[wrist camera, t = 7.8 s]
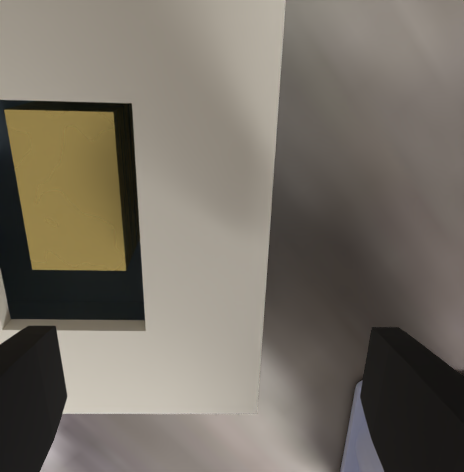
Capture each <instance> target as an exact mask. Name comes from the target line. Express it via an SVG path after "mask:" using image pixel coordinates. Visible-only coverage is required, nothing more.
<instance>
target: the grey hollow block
mask: <svg viewBox="0 0 464 472" xmlns="http://www.w3.org/2000/svg"><path fill="white" fill-rule="evenodd" d="M285 3H286V0H0V344H1V343H3V342H4V341H6V340H7V339H9V338H10V337H12V336H13V335H15V334H16V333H18V332H19V331H21V330H22V329H24V328H26V327H27V326H56V330H57V336H58V342H59V348H60V354H61V360H62V366H63V372H64V378H65V384H66V390H67V396H68V397H67V400H66V403H65V407H64V410H63V413H62V414H257V410H258V395H259V381H260V366H261V352H262V337H263V323H264V308H265V294H266V279H267V265H268V250H269V236H270V221H271V207H272V192H273V178H274V163H275V148H276V134H277V119H278V105H279V90H280V76H281V61H282V47H283V32H284V18H285ZM33 101H66V102H104V103H132V112H133V129H134V145H135V162H136V178H137V195H138V211H139V228H140V239H139V242H138V244H137V246H136V249H135V251H134V253H133V256H132V258H131V260H130V263H129V265H128V268H127V270H126V271H99V270H32V265H31V259H30V253H29V248H28V242H27V236H26V231H25V225H24V219H23V214H22V208H21V202H20V197H19V191H18V186H17V180H16V174H15V169H14V163H13V157H12V152H11V146H10V140H9V135H8V129H7V123H6V118H5V112H4V109H8V108H11V107H15V106H18V105H22V104H26V103H29V102H33Z"/></svg>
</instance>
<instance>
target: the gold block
mask: <svg viewBox="0 0 464 472" xmlns="http://www.w3.org/2000/svg"><path fill="white" fill-rule="evenodd" d="M4 112H5V118H6V123H7V129H8V135H9V140H10V146H11V152H12V157H13V163H14V169H15V174H16V180H17V186H18V191H19V197H20V202H21V208H22V214H23V219H24V225H25V231H26V236H27V242H28V248H29V253H30V259H31V265H32V270H99V271H126V270H127V268H128V265H129V263H130V260H131V258H132V256H133V253H134V251H135V249H136V246H137V244H138V242H139V239H140V228H139V211H138V195H137V178H136V162H135V145H134V129H133V112H132V103H104V102H66V101H33V102H29V103H26V104H22V105H18V106H15V107H11V108H8V109H4Z"/></svg>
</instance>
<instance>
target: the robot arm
mask: <svg viewBox="0 0 464 472" xmlns="http://www.w3.org/2000/svg"><path fill="white" fill-rule="evenodd" d="M67 397H68V396H67V390H66V384H65V378H64V372H63V366H62V360H61V354H60V348H59V342H58V336H57V330H56V326H27V327H26V328H24V329H22V330H21V331H19V332H18V333H16V334H15V335H13V336H12V337H10V338H9V339H7V340H6V341H4V342H3V343H1V344H0V472H40V470H41V467H42V465H43V463H44V461H45V459H46V456H47V454H48V452H49V450H50V447H51V445H52V443H53V441H54V438H55V435H56V432H57V429H58V426H59V423H60V420H61V417H62V413H63V410H64V407H65V403H66V400H67ZM340 472H464V376H462V375H461V374H460V373H458V372H457V371H456V370H454V369H453V368H452V367H450V366H449V365H448V364H447V363H445V362H444V361H443V360H441V359H440V358H439V357H437V356H436V355H435V354H433V353H432V352H431V351H430V350H428V349H427V348H426V347H424V346H423V345H422V344H420V343H419V342H418V341H416V340H415V339H414V338H412V337H411V336H410V335H408V334H407V333H406V332H404V331H403V330H401V329H400V328H397V327H372V330H371V336H370V341H369V347H368V353H367V359H366V365H365V370H364V376H363V380H362V381H360V382H359V383H358V384H357V385H356V388H355V393H354V399H353V404H352V410H351V415H350V421H349V426H348V432H347V437H346V443H345V448H344V454H343V459H342V465H341V470H340Z"/></svg>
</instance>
